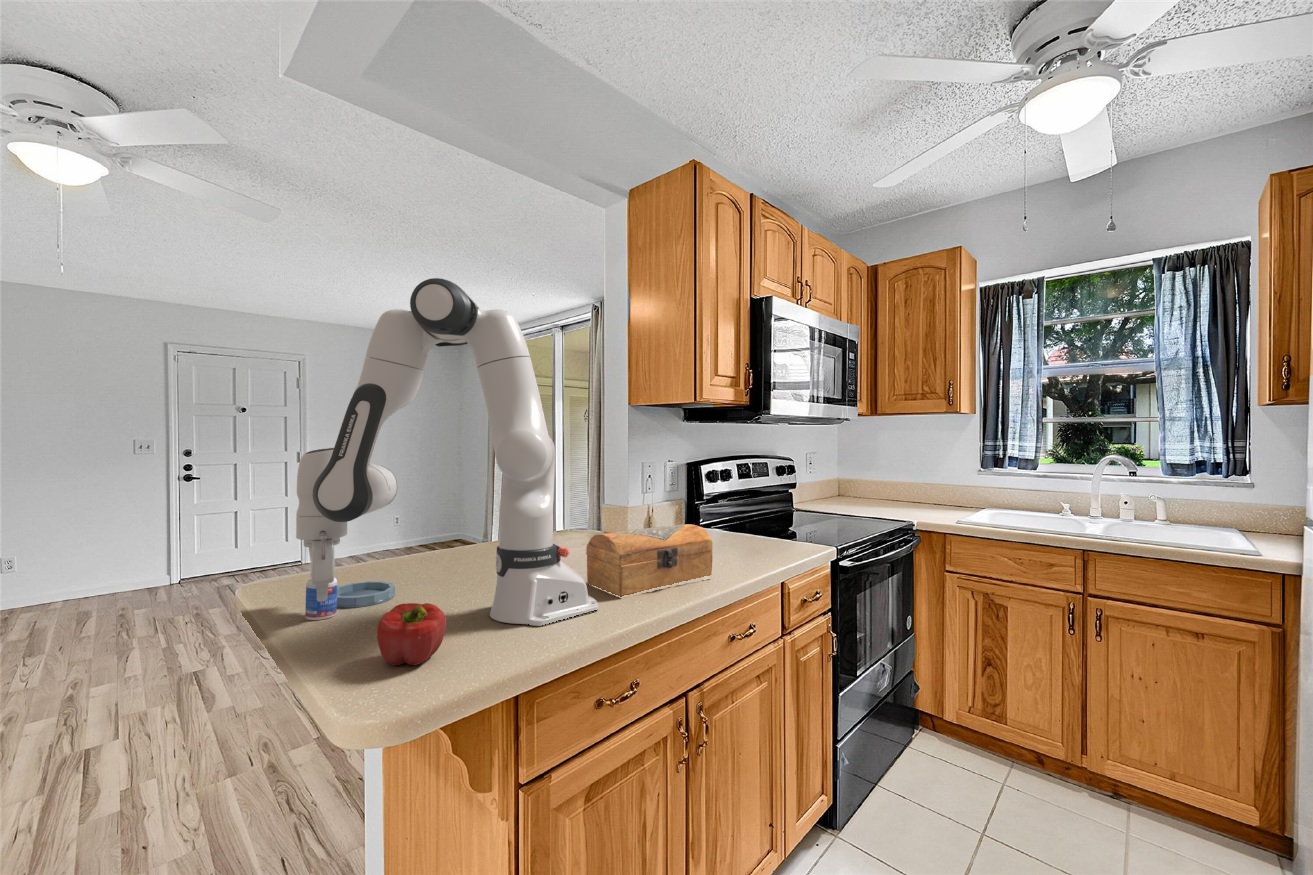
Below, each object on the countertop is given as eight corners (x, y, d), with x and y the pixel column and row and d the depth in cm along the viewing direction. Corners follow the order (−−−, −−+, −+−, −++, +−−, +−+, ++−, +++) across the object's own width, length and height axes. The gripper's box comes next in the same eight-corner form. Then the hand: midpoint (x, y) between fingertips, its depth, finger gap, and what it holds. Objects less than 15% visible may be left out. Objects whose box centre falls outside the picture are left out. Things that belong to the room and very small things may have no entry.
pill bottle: (321, 621, 107) (322, 572, 107) (298, 619, 108) (299, 570, 108) (343, 613, 112) (343, 566, 112) (320, 611, 113) (321, 564, 113)
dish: (390, 587, 131) (390, 578, 131) (397, 601, 120) (398, 591, 120) (327, 595, 124) (327, 586, 124) (329, 611, 113) (329, 601, 113)
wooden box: (621, 601, 123) (622, 540, 123) (584, 585, 136) (585, 529, 136) (717, 581, 142) (717, 528, 142) (676, 568, 155) (677, 519, 155)
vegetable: (456, 664, 88) (457, 602, 88) (388, 682, 82) (389, 616, 82) (432, 644, 97) (433, 588, 97) (369, 659, 90) (369, 599, 90)
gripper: (343, 534, 103) (342, 607, 103) (337, 519, 120) (337, 582, 120) (303, 537, 100) (302, 612, 100) (303, 521, 117) (303, 586, 117)
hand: (321, 595), depth 110 cm, fingers closed on pill bottle, 5 cm apart
